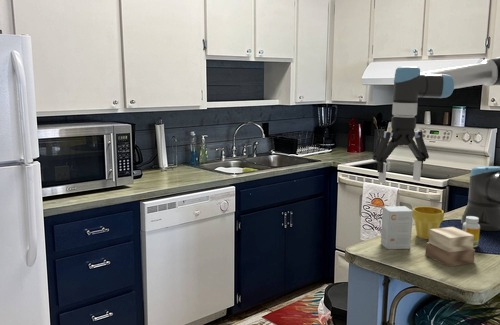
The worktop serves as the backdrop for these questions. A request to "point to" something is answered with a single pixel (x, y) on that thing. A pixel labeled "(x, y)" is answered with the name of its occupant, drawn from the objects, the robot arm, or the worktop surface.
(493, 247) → the worktop surface
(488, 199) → the robot arm
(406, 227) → the small box
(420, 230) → the plant pot
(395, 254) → the worktop surface
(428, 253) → the walnut slab
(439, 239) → the maple slab
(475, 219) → the supplement bottle
